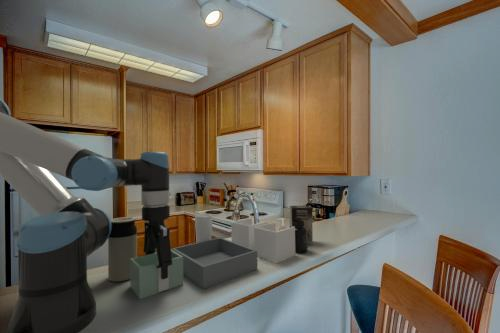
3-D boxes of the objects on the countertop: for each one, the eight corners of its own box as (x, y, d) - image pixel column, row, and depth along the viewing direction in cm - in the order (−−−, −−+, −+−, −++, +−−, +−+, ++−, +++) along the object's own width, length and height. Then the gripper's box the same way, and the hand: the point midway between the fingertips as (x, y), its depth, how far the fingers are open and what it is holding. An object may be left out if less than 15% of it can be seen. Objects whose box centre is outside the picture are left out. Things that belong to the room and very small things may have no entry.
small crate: (139, 299, 63) (139, 267, 63) (130, 286, 70) (130, 258, 70) (183, 284, 71) (183, 256, 71) (171, 274, 78) (170, 249, 78)
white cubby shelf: (231, 247, 104) (231, 221, 104) (250, 242, 111) (250, 218, 111) (276, 263, 85) (275, 232, 86) (295, 255, 93) (294, 226, 93)
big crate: (203, 288, 68) (203, 267, 68) (172, 265, 85) (171, 248, 85) (257, 269, 81) (257, 250, 81) (220, 252, 98) (220, 237, 98)
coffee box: (291, 245, 105) (290, 207, 105) (289, 240, 111) (289, 205, 112) (313, 245, 105) (312, 207, 105) (310, 240, 111) (309, 205, 111)
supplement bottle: (303, 247, 102) (303, 218, 102) (310, 253, 95) (309, 222, 95) (287, 248, 101) (287, 219, 101) (293, 254, 94) (293, 223, 94)
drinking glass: (209, 256, 94) (208, 216, 94) (192, 255, 95) (192, 216, 95) (215, 250, 100) (214, 213, 101) (199, 249, 102) (199, 213, 102)
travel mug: (141, 276, 77) (140, 218, 77) (113, 285, 71) (113, 222, 72) (131, 269, 82) (131, 215, 83) (105, 277, 77) (105, 219, 77)
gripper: (184, 207, 65) (186, 293, 65) (155, 200, 82) (157, 268, 81) (155, 211, 60) (157, 303, 60) (131, 203, 77) (132, 275, 77)
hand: (157, 283), depth 71 cm, fingers closed on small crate, 9 cm apart
